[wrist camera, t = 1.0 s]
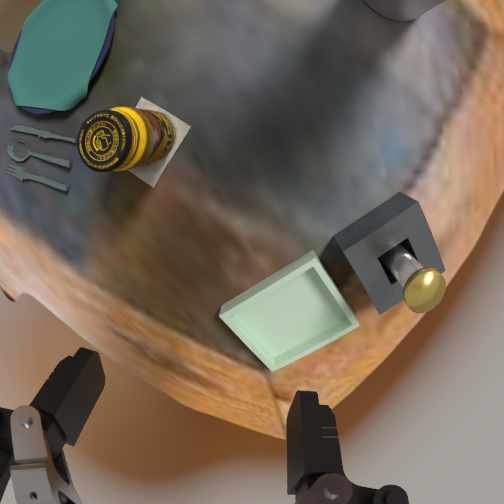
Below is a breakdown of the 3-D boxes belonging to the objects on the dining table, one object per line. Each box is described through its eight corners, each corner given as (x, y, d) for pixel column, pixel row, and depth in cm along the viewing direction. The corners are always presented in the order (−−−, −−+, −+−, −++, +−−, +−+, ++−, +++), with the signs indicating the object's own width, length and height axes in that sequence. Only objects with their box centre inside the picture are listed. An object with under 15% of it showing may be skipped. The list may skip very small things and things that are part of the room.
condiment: (191, 126, 31) (153, 124, 20) (154, 187, 34) (105, 215, 22) (142, 97, 29) (87, 85, 18) (108, 157, 32) (48, 172, 21)
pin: (391, 222, 34) (438, 262, 23) (404, 249, 35) (449, 296, 24) (363, 241, 35) (400, 289, 24) (377, 267, 36) (414, 320, 25)
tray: (312, 249, 35) (315, 257, 33) (355, 315, 39) (359, 325, 37) (221, 305, 39) (218, 316, 37) (272, 360, 43) (272, 371, 40)
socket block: (399, 191, 32) (418, 201, 28) (427, 254, 35) (445, 270, 30) (333, 235, 35) (342, 251, 30) (368, 294, 38) (379, 314, 33)
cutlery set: (144, -16, 23) (137, -22, 21) (82, 196, 35) (72, 201, 33) (42, -5, 22) (33, -8, 20) (-2, 169, 33) (-11, 172, 31)
